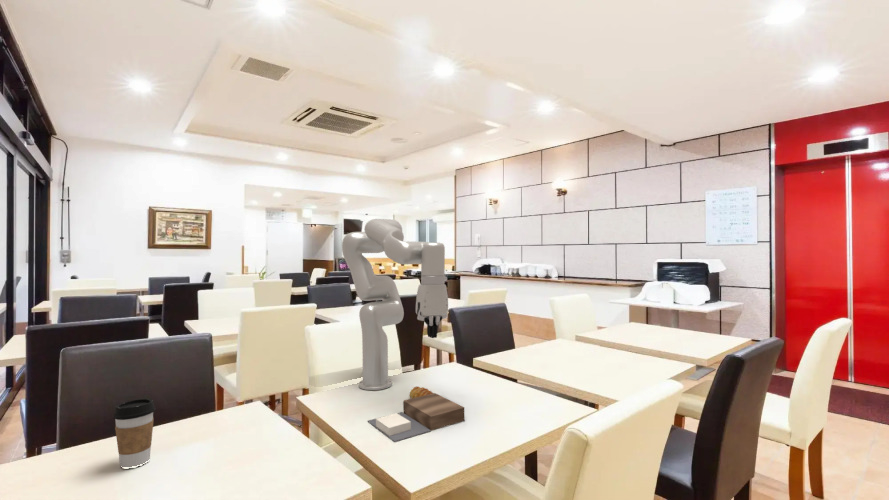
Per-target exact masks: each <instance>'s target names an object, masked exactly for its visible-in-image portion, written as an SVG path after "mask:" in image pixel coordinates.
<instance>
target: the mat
mask: <svg viewBox="0 0 889 500" xmlns="http://www.w3.org/2000/svg"><path fill="white" fill-rule="evenodd" d="M396 413H397V414H399V415H401V416H402V417H404V418H405V419H407V420H409V421H410V422H411V430H408V431H404V432H401V433H397V434H394V435H391V436H389V435H387V434H386V433H384V432H383V431H382V430H380V429H379V428H378V427H376V419H377V418H378V417H377V418H374V419H370V420H369V419H368V420H367V423H369V424H370V425H372V426H373V427H374V428H375V429H377V430H378V431H379V432H381V433H382V434H383V435H385V436H386V438H388V439H390V440H391V441H392V442H394V443H396V442H400V441H403V440H407V439H409V438H410V439H411V438H414V437H417V436H420V435H423V434H427V433H430V432H432V430H430V429H428V428H427V427H425V426H423V425H422V424H420V423H419V422H417V421H415V420H414V419H412V418H411V417H409V416H407V415H406V414H404V413H403V411H399V412H396ZM385 416H386V415H385ZM385 416H383V417H385ZM381 417H382V416H381ZM381 417H379V418H381Z"/></svg>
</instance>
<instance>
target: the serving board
mask: <svg viewBox="0 0 889 500" xmlns="http://www.w3.org/2000/svg"><path fill="white" fill-rule="evenodd" d="M432 393H433V394H429V395H425V396H420V397H416V398H412V399H411V398H409V399H405V400H403V401H402V402H403V404H402V405H403V408H402V409H403V411H402V412H403V413H404V414H406V415H407V416H409V417H411V418H412V419H414V420H415V421H417V422H419V423H420V424H422V425H423V426H425V427H427V428H428V429H430V430H431V431H435V430H437V429H441V428H445V427H448V426H451V425H455V424H458V423H461V422H464V421H465V407H464V406H463V405H460V404H458V403H457V402H455V401H453V400H450V399H448V398H447V397H444V396H443V395H440V394H438V393H436V392H432Z"/></svg>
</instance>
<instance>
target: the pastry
mask: <svg viewBox="0 0 889 500" xmlns="http://www.w3.org/2000/svg"><path fill="white" fill-rule="evenodd" d="M433 393H434V392H432V391H431V390H429V389H428V388H425V387H420V386H414V387H412V389H411V390H410V392H409V396H408V397H409V399H412V398H416V397H420V396H425V395H429V394H433Z"/></svg>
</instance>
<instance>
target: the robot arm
mask: <svg viewBox="0 0 889 500" xmlns="http://www.w3.org/2000/svg"><path fill="white" fill-rule="evenodd" d="M403 232H404V231H403V227H402V225H401V223H400V222H399V221H398V220H396V219H388V218H373V219H370V220H368V221H367V222H366V224H365V225H364V231H353V232H349V233H347V234H346V235H345V236H344V237H343V238H342V242H341V252H342V255H343V259H344V261H345V262H346V265H347V266H348V269H349V271H350V274H351V277H352V281H353V285H354V288H355V291H356V295H357V297H358V298H359V299H360V300H361V301H366V302H368V301H372V302H368V303H365V304H363V306H361V307H360V310H359V312H358V313H359V315H358V316H359V321H360V329H361V339H362V341H361V342H362V343H361V345H362V348H361V349H362V353H361V354H362V372H361V375H362V379H361V380H360V381H359V382H358V388H359V389H362V390H366V391H380V390H385V389H387V388H390V387H392V385H393V380H392V379H390V378H389V355H388V354H389V353H388V352H389V346H388V345H389V344H388V342H389V340H388V339H389V338H388V336H387V333H386V332H385V330H384V329H383V327H387V326H393V325H398V324H400V323H401V322H402V321H403V319H404V315H405V312H404V311H405V310H404V307H403V304H402V300H401V297H400V294H399V291H398V288H397V285H396V282H395V281H394V279H393V278H392V277H390V276H389V275H376V274H375V272H374V269H373V266H372V263H371V262H370V260H368V258H366V257H365V256H364V255H363V254H379V253H384V254H385V256H386V257H387V258H388V259H390V260H392V261H393V262H395V263H397V264H399V265H421V269H420V271H421V275H420V278H421V279H420V280H421V281H420V283H421V284H418V288H417V291H416V298H415V313H416V315H417V317H416V319H417V320H418V321H421V322H424V323H425V325H426V334H427V337H428V338H431V339H436V338H437V337H438V332H439V331H438V327H439V325H440V322H441V321H442V320H443V319H446V318H448V311H449V296H448V288H447V285H446V284H445V283H446V281H448V277H447V276H446V274H445V268H446V267H445V264H446V263H445V262H446V261H445V258H446V257H445V256H446V255H445V254H446V249H445V248H446V247H445V244H444V243H441V242H428V241H404V240H405V239H404V238H405V236H404V233H403ZM381 300H382V301H381Z"/></svg>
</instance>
